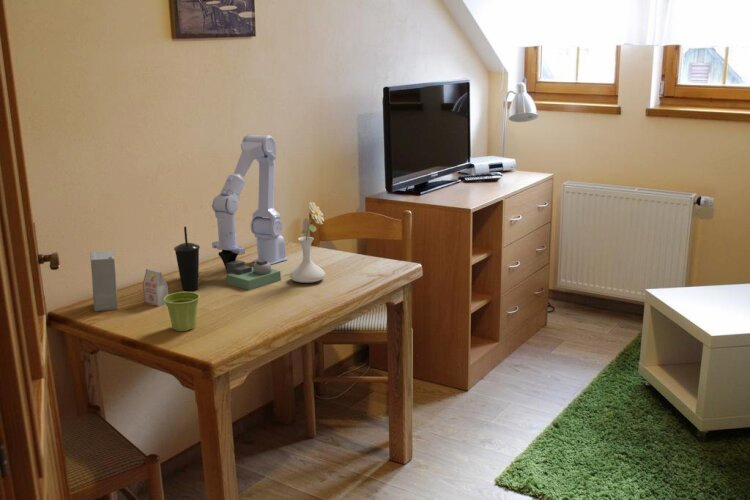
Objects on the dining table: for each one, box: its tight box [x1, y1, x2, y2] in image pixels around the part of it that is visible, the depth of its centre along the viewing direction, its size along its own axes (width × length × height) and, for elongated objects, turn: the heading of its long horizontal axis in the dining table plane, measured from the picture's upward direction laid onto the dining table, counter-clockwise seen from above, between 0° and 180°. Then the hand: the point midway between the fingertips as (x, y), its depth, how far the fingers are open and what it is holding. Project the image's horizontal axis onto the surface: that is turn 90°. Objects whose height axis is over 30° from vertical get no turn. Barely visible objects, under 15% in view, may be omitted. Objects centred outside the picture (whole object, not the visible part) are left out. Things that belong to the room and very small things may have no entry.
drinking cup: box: [173, 226, 201, 292], centre depth 238 cm, size 8×8×20 cm
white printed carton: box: [142, 268, 169, 308], centre depth 227 cm, size 4×7×10 cm, turn 52°
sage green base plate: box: [225, 260, 282, 291], centre depth 246 cm, size 13×11×7 cm
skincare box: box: [90, 250, 118, 312], centre depth 225 cm, size 8×7×16 cm
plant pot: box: [164, 291, 201, 332], centre depth 207 cm, size 9×9×9 cm
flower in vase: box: [289, 201, 326, 284], centre depth 245 cm, size 13×11×25 cm
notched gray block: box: [226, 259, 253, 275], centre depth 249 cm, size 4×7×6 cm, turn 48°
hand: (230, 272), depth 252 cm, fingers closed
